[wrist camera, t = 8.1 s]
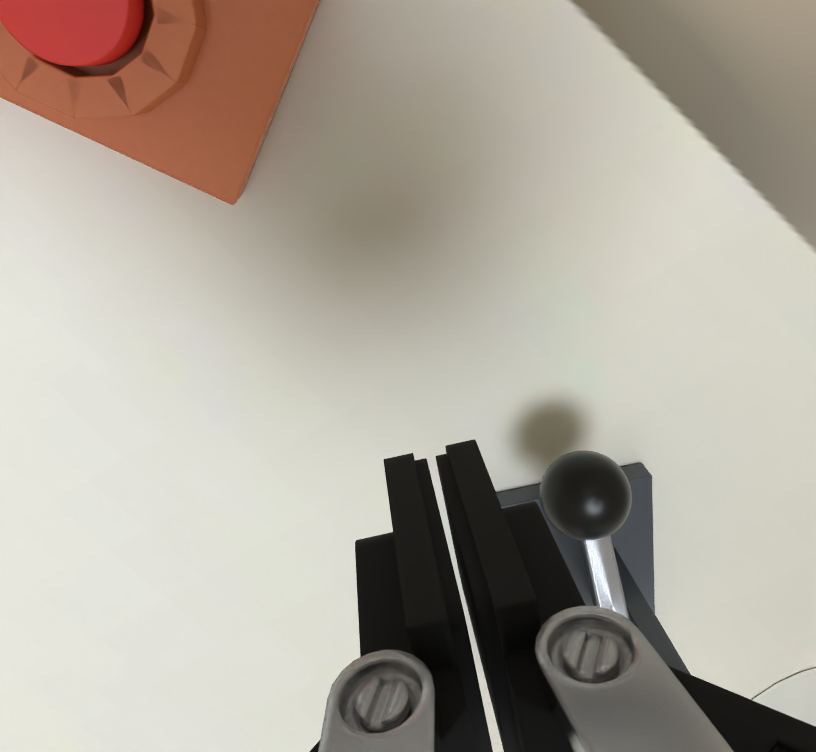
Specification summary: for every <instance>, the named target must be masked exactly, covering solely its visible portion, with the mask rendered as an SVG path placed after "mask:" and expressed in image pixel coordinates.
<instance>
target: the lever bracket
mask: <svg viewBox="0 0 816 752" xmlns="http://www.w3.org/2000/svg"><path fill="white" fill-rule="evenodd" d="M620 468H621V469H622V470H623V472H624V473H625V475H626V477H627V479H628V481H629V484H630V487H631V493H632V502H631V508H630V512H629V515H628V517H627V519H626V521H625V522H624V523H623V525H622V526H621V527H620V528H619V529H618V530H617V531H616V532H615V533H613V534H612V535H611V540H612V544H613V549H614V553H615V558H616V562H617V566H618V571H619V575H620V580H621V584H622V589H623V593H624V598H625V602H626V606H627V611H628V615H629V620H630V621H631V622H632V623H633V624H634V625H635V626H636V627H637V628H638V629H639V630H640V631H641V632H642V634H643V635H644V636H645V638H646V639H647V640H648V641H649V643H650V644H651V645H652V647H653V648H654V649H655V650H656V652H657V653H658V654H659V656H660V657H661V658H662V659H663V661H664V662H665V663H666V665H668V666H670V667H672V668H675V669H677V670H680V671H682V672H685V673H687V674H689V675H691V674H690V673H689V671H688V669H687V668H686V666H685V664H684V663H683V661H682V659H681V658H680V656H679V654H678V653H677V651H676V649H675V647H674V646H673V644H672V642H671V641H670V639H669V637H668V636H667V634H666V632H665V631H664V629H663V627H662V626H661V624H660V622H659V621H658V619H657V617H656V616H655V608H654V559H653V510H652V475H651V474H650V473H649V472H648V470H647V469H646V468H645V466H644V465H643V464H642V463H639V464H634V465H629V466H624V467H620ZM540 485H541V484H538V485H533V486H528V487H524V488H519V489H514V490H509V491H504V492H500V493H496V494H497V497H498V500H499V502H500V505H501V507H502V508H504V507H509V506H513V505H518V504H522V503H527V502H531V501H535V502H536V503H537V504H538V506H539V508H540V510H541V512H542V514H543V516H544V518H545V520H546V523H547V525H548V527H549V529H550V531H551V533H552V535H553V537H554V539H555V542H556V544H557V546H558V548H559V550H560V552H561V554H562V556H563V558H564V561H565V563H566V565H567V567H568V569H569V571H570V573H571V575H572V577H573V580H574V582H575V584H576V586H577V588H578V590H579V592H580V594H581V596H582V599H583V601H584V603H585V605H586V606H593V603H592V598H591V594H590V589H589V585H588V580H587V576H586V571H585V566H584V562H583V557H582V553H581V548H580V544H579V540H575V539H572V538H570V537H567V536H565V535H563V534H562V533H560V532H559V531H558V530H556V529H555V528H554V527H553V526H552V525H551V524H550V522H549V521H548V520H547V518H546V516H545V515H544V512H543V510H542V507H541V503H540Z"/></svg>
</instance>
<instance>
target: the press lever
mask: <svg viewBox="0 0 816 752" xmlns="http://www.w3.org/2000/svg"><path fill="white" fill-rule="evenodd" d="M631 502H632V493H631V487H630V484H629V481H628V479H627V477H626V475H625V473H624V472H623V470H622V469H621V468H620V467H619V466H618V465H617V464H616V463H615V462H614V461H613V460H611V459H610V458H608V457H607V456H605V455H602V454H600V453H597V452H593V451H575V452H571V453H567V454H565V455H563V456H561V457H559V458H558V459H557V460H555V461H554V462H553V463H552V464H551V465H550V466H549V468H548V469H547V470H546V472H545V474H544V476H543V478H542V481H541V485H540V503H541V507H542V510H543V512H544V515H545V516H546V518H547V520H548V521H549V522H550V524H551V525H552V526H553V527H554V528H555V529H556V530H558V531H559V532H560V533H562V534H563V535H565V536H567V537H570V538H572V539H575V540H579V544H580V548H581V553H582V557H583V562H584V566H585V571H586V576H587V580H588V585H589V589H590V594H591V598H592V603H593V606H598V607H602V608H606V609H610V610H613V611H615V612H617V613H619V614H621V615H623V616H625V617H626V618H628V619H629V615H628V611H627V606H626V602H625V598H624V593H623V589H622V584H621V580H620V575H619V571H618V566H617V562H616V558H615V553H614V549H613V544H612V540H611V535H612V534H613V533H615V532H616V531H617V530H618V529H619V528H620V527H621V526H622V525H623V523H624V522H625V521H626V519H627V517H628V515H629V512H630V508H631Z"/></svg>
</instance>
